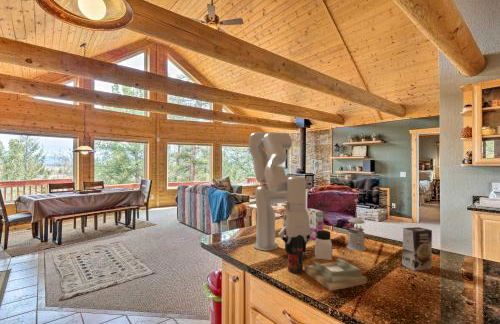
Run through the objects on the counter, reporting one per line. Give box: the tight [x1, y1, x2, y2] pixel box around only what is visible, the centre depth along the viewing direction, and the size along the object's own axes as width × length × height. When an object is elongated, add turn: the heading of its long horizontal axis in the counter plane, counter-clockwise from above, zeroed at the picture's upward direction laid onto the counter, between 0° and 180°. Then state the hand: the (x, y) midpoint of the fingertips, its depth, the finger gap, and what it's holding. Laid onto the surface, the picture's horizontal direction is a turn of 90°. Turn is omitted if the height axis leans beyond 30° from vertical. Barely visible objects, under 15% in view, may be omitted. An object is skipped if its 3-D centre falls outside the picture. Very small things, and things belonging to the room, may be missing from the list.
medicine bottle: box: [314, 229, 333, 261], centre depth 117 cm, size 7×7×12 cm
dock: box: [303, 257, 368, 292], centre depth 96 cm, size 16×16×5 cm
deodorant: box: [287, 235, 304, 275], centre depth 102 cm, size 6×6×15 cm
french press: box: [345, 199, 367, 252], centre depth 130 cm, size 10×12×25 cm
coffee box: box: [401, 226, 433, 271], centre depth 107 cm, size 9×6×16 cm
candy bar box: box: [306, 208, 325, 241], centre depth 146 cm, size 11×5×16 cm, turn 17°
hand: (295, 251), depth 102 cm, fingers closed on deodorant, 6 cm apart
